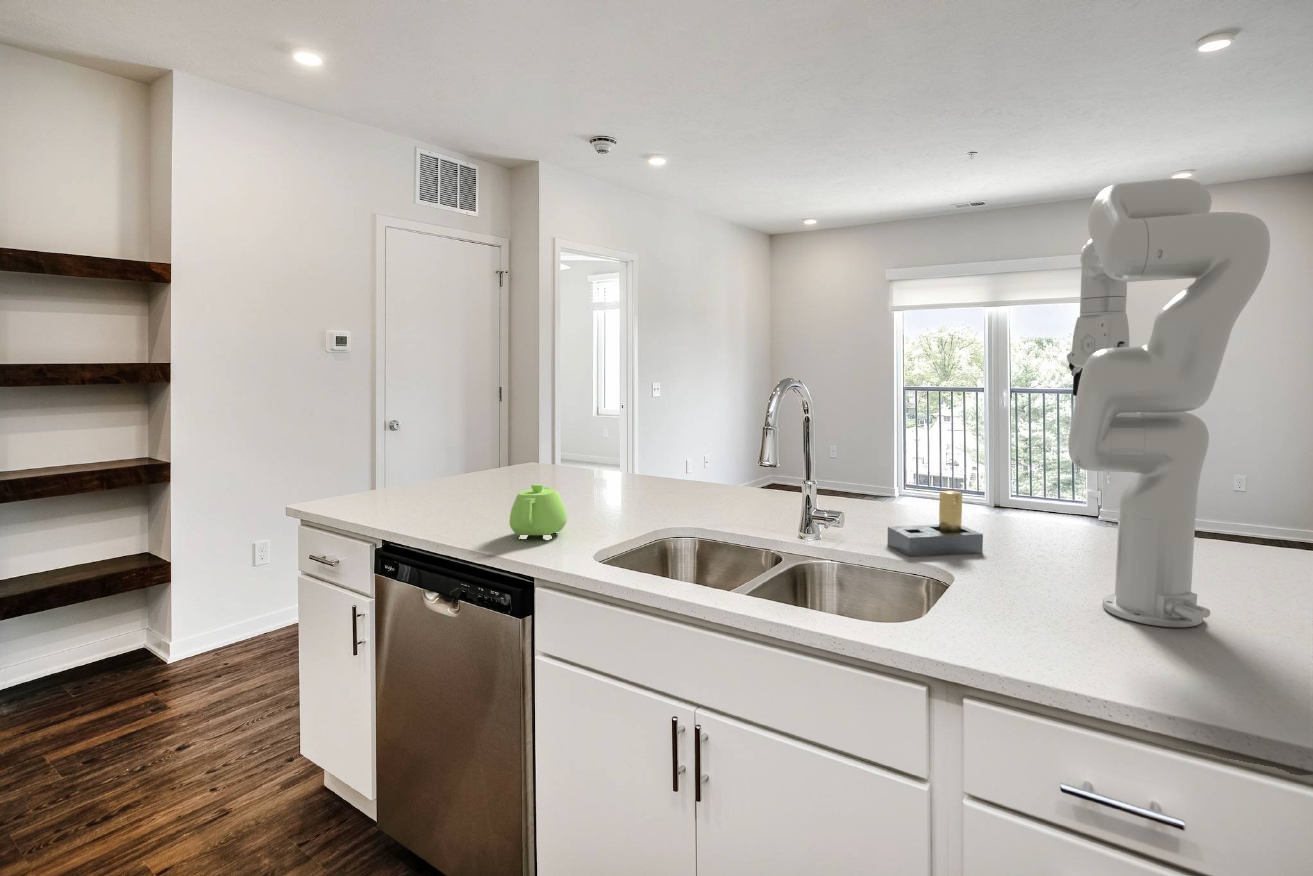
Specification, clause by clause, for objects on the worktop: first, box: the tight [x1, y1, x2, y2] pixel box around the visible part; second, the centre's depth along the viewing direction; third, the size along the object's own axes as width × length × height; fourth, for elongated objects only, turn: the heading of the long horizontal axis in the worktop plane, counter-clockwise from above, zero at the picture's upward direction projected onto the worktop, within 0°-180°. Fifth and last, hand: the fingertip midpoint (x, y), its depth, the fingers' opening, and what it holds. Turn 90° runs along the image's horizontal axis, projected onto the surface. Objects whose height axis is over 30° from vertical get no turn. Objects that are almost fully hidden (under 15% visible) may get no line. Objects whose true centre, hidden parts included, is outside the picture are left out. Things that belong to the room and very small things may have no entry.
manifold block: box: [887, 523, 984, 558], centre depth 146 cm, size 10×16×4 cm, turn 96°
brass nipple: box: [938, 490, 963, 533], centre depth 146 cm, size 4×4×12 cm
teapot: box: [509, 483, 568, 536], centre depth 165 cm, size 20×13×13 cm
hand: (1098, 396), depth 134 cm, fingers open, 9 cm apart
